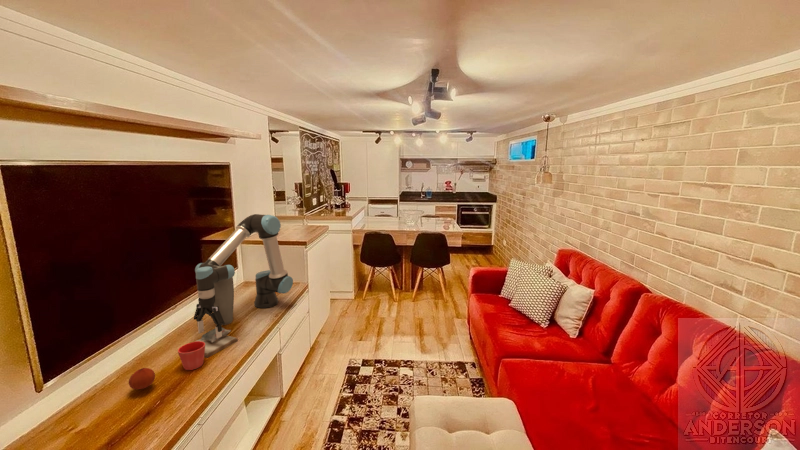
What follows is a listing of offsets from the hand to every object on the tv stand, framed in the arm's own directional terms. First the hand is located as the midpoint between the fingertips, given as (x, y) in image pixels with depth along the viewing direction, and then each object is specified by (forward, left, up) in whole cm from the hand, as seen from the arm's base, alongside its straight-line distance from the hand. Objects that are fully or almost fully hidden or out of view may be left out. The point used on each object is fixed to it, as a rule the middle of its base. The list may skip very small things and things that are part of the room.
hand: (210, 334), depth 171 cm
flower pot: (+16, +9, -6) cm, 19 cm away
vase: (-21, -16, -6) cm, 27 cm away
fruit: (+35, +4, -6) cm, 36 cm away
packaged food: (0, +2, -6) cm, 6 cm away
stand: (0, 0, -6) cm, 6 cm away
